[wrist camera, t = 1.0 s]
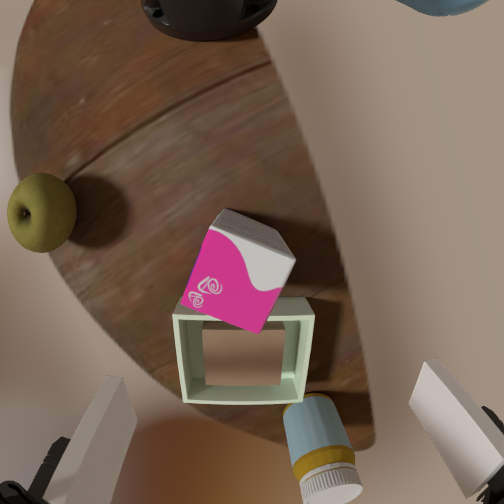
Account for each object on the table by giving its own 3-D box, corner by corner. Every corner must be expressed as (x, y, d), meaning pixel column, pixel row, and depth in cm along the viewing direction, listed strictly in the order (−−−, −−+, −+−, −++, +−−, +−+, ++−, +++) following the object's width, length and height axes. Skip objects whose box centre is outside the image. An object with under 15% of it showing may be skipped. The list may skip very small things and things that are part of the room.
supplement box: (222, 206, 28) (211, 221, 17) (278, 229, 28) (303, 259, 17) (200, 259, 29) (178, 306, 18) (254, 281, 30) (263, 338, 18)
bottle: (333, 385, 33) (371, 474, 19) (332, 419, 35) (362, 500, 21) (280, 395, 33) (298, 492, 19) (284, 428, 35) (300, 515, 20)
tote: (181, 295, 30) (172, 314, 25) (304, 296, 30) (314, 315, 26) (188, 378, 32) (183, 402, 28) (295, 378, 33) (302, 402, 28)
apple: (76, 161, 26) (37, 158, 19) (98, 229, 28) (63, 243, 21) (31, 190, 26) (-8, 195, 19) (51, 252, 28) (15, 269, 21)
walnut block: (204, 315, 30) (201, 329, 27) (281, 316, 30) (285, 329, 27) (207, 368, 31) (205, 384, 28) (277, 369, 32) (280, 384, 29)
